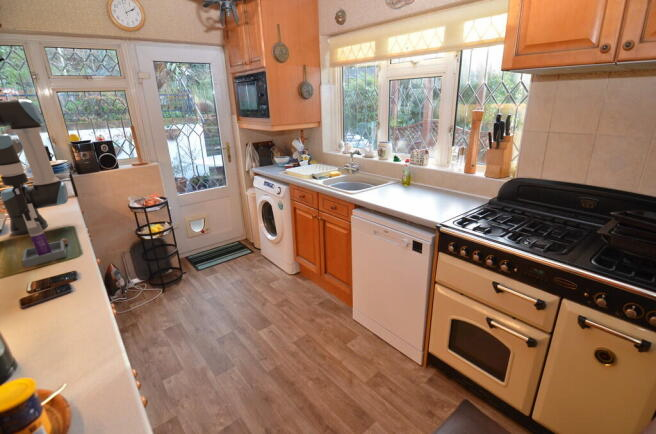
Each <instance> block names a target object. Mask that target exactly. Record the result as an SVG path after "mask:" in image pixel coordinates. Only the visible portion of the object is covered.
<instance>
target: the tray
mask: <svg viewBox="0 0 656 434" xmlns="http://www.w3.org/2000/svg"><path fill="white" fill-rule="evenodd" d="M60 240H61V239H60ZM60 240H59V241H58V240H57V241H53V242H50V243H49V242H48V244H49V246H50V249H51V251H52V253H48V254H44V255H40V256H38V253H37V251H36V249H35V246H34V247H33V246H32V247H29V248H26V249H23V253H22V259H21V262H22V264H23V267H24V268H29V267H32V266H36V265H40V264H44V263H49V262H50V261H55V260H59V259H62V258H66V257H67V250H66V245H65V244H64V242H63V240H61V241H60Z"/></svg>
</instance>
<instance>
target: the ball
mask: <svg viewBox="0 0 656 434" xmlns="http://www.w3.org/2000/svg"><path fill="white" fill-rule="evenodd" d="M61 240H63V242H64V244H65V246H66V245H68V244H69V240H68V238H64V237H63V238H61V239H60V240H59V241H61Z"/></svg>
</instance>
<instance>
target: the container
mask: <svg viewBox="0 0 656 434" xmlns="http://www.w3.org/2000/svg"><path fill="white" fill-rule="evenodd" d="M35 223H36V226H37V227H34V228H29V229H28V227H27V225H26V227H27V229H28V232H29V236H30V239H31V241H32V244H33V246H34V247H35V249H36V251H37V253H38V256H40V255H44V254H48V253H52V251H51V249H50V246H49V242H48V239H47V236H46V234H45V232H44V229H42V227H41V225H40V223H39V222H35Z"/></svg>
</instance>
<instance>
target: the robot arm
mask: <svg viewBox="0 0 656 434" xmlns="http://www.w3.org/2000/svg"><path fill="white" fill-rule="evenodd" d="M42 124H44V119H43V115H42V114H41V112H40V110H39V108H38V107H37V104H35V102H33V100H29V99H14V100H0V127H1V128H2V127H10V130H11V131H13V132H14V133H16V135H17V136H12V135H10V134H8V133H0V176H1V177H0V179H1V181H2V183H3V185H4V186H6V187H9V188H7V189H4V190H2V191H1V192H0V199H1V202H2V203H3V206H4V208H5V211H6V212H7V216H8V217H9V220H10V223H9V227H10V233H11V234H12V235H14V236H21V235H22V236H23V235H28V234H29V232H28V229H29V228H34V227H37V226H36V223H35V222H39V223H40V225H41V227H42V229H43V230H44V229H46V228H47V227H49V223H48V222H47V220H46V219H45V218H44V217H43V216H42V214H40V212H39V209H44V208H48V207H49V208H50V207H56V206H57V207H58V206H61V205H65V204H67V203H68V201H69V195H68V188H67V184H66V183H65V181H64V182H63V181H62V180H61V179H60V178H58V177H56V175H55V173H54V169H53V166H52V164H51V161H50V159H49V155H48V153H47V150H46V147H45V145H44V142H43V141H44V140H43V138H42V135H41V133H40V130H41V129H42ZM22 151H23V153H24V156H25V158H26V161H27V163H28V166H29V168H30V171H31V173H32V176H33V179H34V181H33V182H32V184H31V185H32V186H31V187H30V186H29V185H28V184H26V183H27V182H29V179H28V177H27V174H26V173H25V169H24V166H23V164H22V161H21V160H20V157H19V154H20V153H21V152H22ZM61 181H62V182H61ZM10 186H12V187H10ZM26 225H27V227H28V229H27V227H26Z"/></svg>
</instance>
